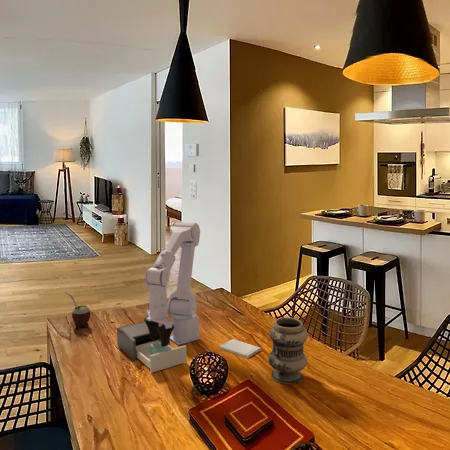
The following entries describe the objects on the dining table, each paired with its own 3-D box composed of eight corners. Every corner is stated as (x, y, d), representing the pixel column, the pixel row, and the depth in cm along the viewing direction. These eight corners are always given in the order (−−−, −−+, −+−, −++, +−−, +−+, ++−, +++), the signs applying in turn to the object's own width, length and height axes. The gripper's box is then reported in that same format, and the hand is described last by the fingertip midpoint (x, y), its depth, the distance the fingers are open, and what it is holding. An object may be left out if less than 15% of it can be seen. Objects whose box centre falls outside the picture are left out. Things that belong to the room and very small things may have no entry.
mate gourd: (94, 325, 181) (92, 290, 178) (79, 332, 174) (76, 295, 172) (82, 321, 185) (80, 287, 182) (66, 328, 178) (64, 292, 176)
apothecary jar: (282, 390, 131) (283, 332, 128) (260, 372, 141) (261, 318, 138) (314, 380, 136) (316, 324, 133) (291, 364, 147) (292, 312, 144)
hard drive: (219, 345, 159) (247, 355, 151) (233, 338, 165) (261, 347, 157) (219, 350, 159) (247, 359, 151) (233, 342, 165) (261, 351, 158)
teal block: (162, 353, 153) (161, 341, 152) (168, 358, 149) (168, 345, 148) (150, 357, 150) (150, 344, 149) (156, 362, 147) (156, 349, 146)
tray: (162, 344, 162) (162, 329, 161) (186, 361, 148) (186, 345, 147) (129, 353, 154) (128, 338, 153) (151, 372, 141) (150, 356, 140)
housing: (152, 336, 170) (151, 319, 168) (170, 349, 158) (169, 331, 157) (117, 345, 161) (116, 327, 160) (133, 359, 150) (132, 340, 149)
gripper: (137, 299, 150) (139, 337, 152) (157, 312, 139) (158, 352, 141) (156, 295, 154) (157, 332, 156) (177, 307, 143) (178, 347, 145)
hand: (159, 342), depth 149 cm, fingers open, 7 cm apart
